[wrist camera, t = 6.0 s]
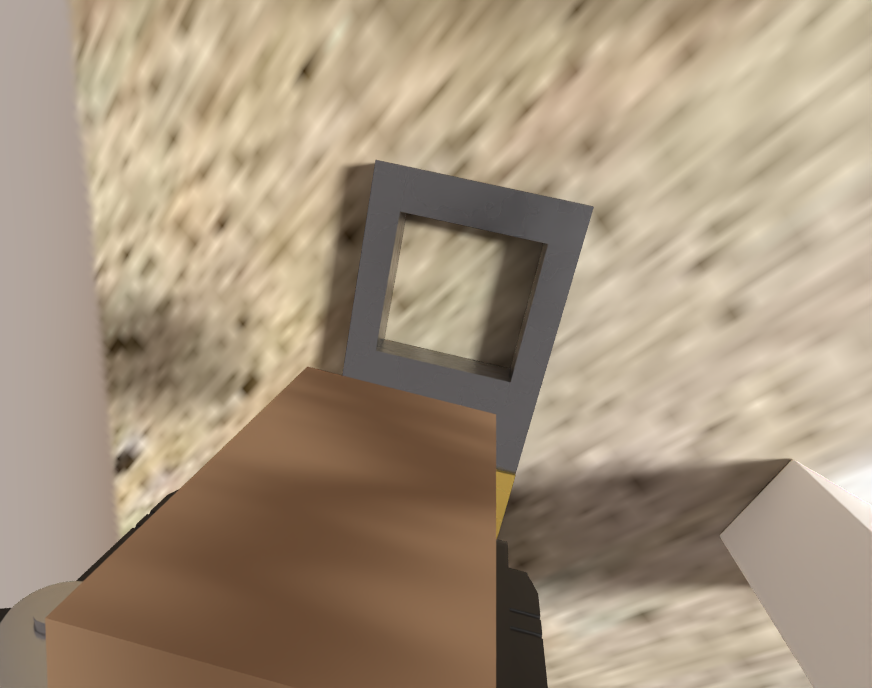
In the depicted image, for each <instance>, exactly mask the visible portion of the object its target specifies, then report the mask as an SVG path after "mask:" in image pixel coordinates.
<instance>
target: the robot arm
mask: <svg viewBox="0 0 872 688" xmlns="http://www.w3.org/2000/svg"><path fill="white" fill-rule="evenodd" d="M177 491H178V490H177ZM177 491H175V492H172V493H170V494H168V495H167V496H166V497H165V498H164V499H163V500H162V501H161V502H160V503H158V504H157V505H156V506H155V507H154V508H153V509H152V510H151V512H150V514H147V515H146V516H145V517H144V518H142V519H141V520H140V521H139V522H138V523H137V524H136V527H135V528H132V529H131V530H130V531H129V532H128V533H127V534H125V535H124V536H123V537H122V538H121V539H120V540H119V541H118V542H117V543H116V544H115V545H114V546H113V547H112V548H111V549H110V550H109V551H107V552H106V553H105V554H104V555H103V556H102V557H101V558H100V559H99V560H98V561H97V562H96V563H95V564H94V565H92V566H91V567H90V568H89V569H88V571H86V572H85V573H84V574H83V575H82V576H81V577H80V578H79V579H78V580H77V581H70V582H62V583H57V584H53V585H50V586H47V587H45V588H42V589H39V590H37V591H35V592H33V593H31V594H29V595H28V596H26V597H25V598H23V599H22V600H20V601H19V602H18V603H17V604H15V605H14V606H13V607H12V608H4V609H0V688H48V682H47V655H46V628H45V618H46V617H47V616H48V615H49V614H50V613H51V612H52V611H53V610H54V609H55V608H56V607H57V606H58V605H59V604H60V603H61V602H62V601H63V600H64V599H65V598H66V597H67V596H69V595H70V594H71V593H72V592H73V591H74V590H75V589H76V588H77V587H78V586H79V585H80V584H81V583H82V582H83V581H84V580H85V579H86V578H87V577H88V576H89V575H90V574H92V573H93V572H94V571H95V570H96V569H97V568H98V567H99V566H100V565H101V564H102V563H103V562H104V561H105V560H106V559H107V558H108V557H109V556H110V555H111V554H112V553H113V552H114V551H116V550H117V549H118V548H119V547H120V546H121V545H122V544H123V543H124V542H125V541H126V540H127V539H128V538H129V537H130V536H131V535H132V534H133V533H134V532H135V531H136V530H137V529H138V528H140V527H141V526H142V525H143V524H144V523H145V522H146V521H147V520H148V519H149V518H150V517H151V516H152V515H153V514H154V513H155V512H156V511H157V510H158V509H159V508H160V507H161V506H163V505H164V504H165V503H166V502H167V501H168V500H169V499H170V498H171V497H172V496H173V495H174V494H175V493H176V492H177ZM496 688H548V686H547V676H546V666H545V657H544V647H543V639H542V627H541V620H540V608H539V598H538V593H537V591H536V589H535V587H534V585H533V584H532V582H531V580H530V578H529V576H528V574H527V573H526V572H522V571H518V570H515V569H511V568H508V545H507V542H505V541H502V540H498V539H496Z"/></svg>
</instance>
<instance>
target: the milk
mask: <svg viewBox="0 0 872 688" xmlns="http://www.w3.org/2000/svg"><path fill="white" fill-rule="evenodd" d="M720 538H721V540H722V541H723V543H724V545H725V546H726V548H727V549H728V551H729V553H730V554H731V556H732V557H733V559H734V561H735V562H736V564H737V565H738V567H739V569H740V570H741V572H742V573H743V575H744V577H745V578H746V580H747V581H748V583H749V585H750V586H751V588H752V589H753V591H754V593H755V594H756V596H757V597H758V599H759V601H760V602H761V604H762V605H763V607H764V609H765V610H766V612H767V614H768V615H769V617H770V618H771V620H772V622H773V623H774V625H775V626H776V628H777V630H778V631H779V633H780V634H781V636H782V638H783V639H784V641H785V642H786V644H787V646H788V647H789V649H790V650H791V652H792V654H793V655H794V657H795V658H796V660H797V662H798V663H799V665H800V666H801V668H802V670H803V671H804V673H805V674H806V676H807V678H808V679H809V681H810V682H811V684H812V686H813V687H814V688H872V505H871V504H869V503H868V502H866V501H864V500H862V499H861V498H859V497H857V496H856V495H854V494H852V493H851V492H849V491H847V490H845V489H844V488H842V487H840V486H839V485H837V484H835V483H834V482H832V481H830V480H828V479H827V478H825V477H823V476H822V475H820V474H818V473H816V472H815V471H813V470H811V469H810V468H808V467H806V466H805V465H803V464H801V463H799V462H798V461H796V460H791V461H790V462H789V463H788V464H787V465H786V466H785V468H784V469H783V470H782V471H781V472H780V473H779V474H778V475H777V476H776V477H775V478H774V479H773V480H772V481H771V482H770V483H769V484H768V485H767V486H766V487H765V488H764V489H763V490H762V492H761V493H760V494H759V495H758V496H757V497H756V498H755V499H754V500H753V501H752V502H751V503H750V504H749V505H748V506H747V507H746V508H745V509H744V510H743V511H742V512H741V513H740V514H739V516H738V517H737V518H736V519H735V520H734V521H733V522H732V523H731V524H730V525H729V526H728V527H727V528H726V529H725V530H724V531H723V532H722V533H721V534H720Z"/></svg>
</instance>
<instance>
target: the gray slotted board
mask: <svg viewBox="0 0 872 688" xmlns="http://www.w3.org/2000/svg"><path fill="white" fill-rule="evenodd" d="M593 208H594V207H593V206H589V205H584V204H580V203H575V202H570V201H566V200H561V199H556V198H552V197H547V196H542V195H538V194H533V193H528V192H524V191H519V190H514V189H510V188H505V187H500V186H496V185H491V184H486V183H482V182H477V181H472V180H468V179H463V178H458V177H454V176H449V175H444V174H440V173H435V172H430V171H426V170H421V169H416V168H412V167H407V166H402V165H398V164H393V163H388V162H384V161H379V160H376V161H375V167H374V174H373V180H372V187H371V193H370V200H369V206H368V213H367V219H366V226H365V232H364V239H363V245H362V252H361V258H360V265H359V271H358V278H357V284H356V291H355V297H354V304H353V310H352V317H351V323H350V330H349V336H348V343H347V349H346V356H345V362H344V369H343V375H342V376H346V377H350V378H354V379H358V380H362V381H366V382H370V383H374V384H378V385H382V386H386V387H390V388H394V389H398V390H402V391H406V392H410V393H414V394H418V395H421V396H425V397H429V398H433V399H437V400H441V401H445V402H449V403H453V404H457V405H461V406H465V407H469V408H473V409H477V410H481V411H485V412H489V413H493V414H496V539H497V537H498V533H499V530H500V527H501V523H502V520H503V516H504V513H505V510H506V506H507V503H508V499H509V496H510V493H511V489H512V486H513V482H514V479H515V473H516V470H517V466H518V463H519V460H520V456H521V453H522V449H523V446H524V443H525V439H526V436H527V432H528V429H529V426H530V422H531V419H532V415H533V412H534V409H535V405H536V402H537V398H538V395H539V391H540V388H541V385H542V381H543V378H544V374H545V371H546V368H547V364H548V361H549V357H550V354H551V351H552V347H553V344H554V340H555V337H556V334H557V330H558V327H559V323H560V320H561V317H562V313H563V310H564V306H565V303H566V300H567V296H568V293H569V289H570V286H571V282H572V279H573V276H574V272H575V269H576V265H577V262H578V259H579V255H580V252H581V248H582V245H583V242H584V238H585V235H586V231H587V228H588V225H589V221H590V218H591V214H592V211H593ZM407 213H409V214H414V215H418V216H423V217H428V218H432V219H437V220H441V221H446V222H450V223H455V224H459V225H464V226H469V227H473V228H478V229H482V230H487V231H491V232H496V233H500V234H505V235H510V236H514V237H519V238H523V239H528V240H532V241H537V242H542V243H544V244H543V248H542V251H541V255H540V259H539V263H538V266H537V270H536V274H535V277H534V281H533V285H532V289H531V292H530V296H529V300H528V304H527V307H526V311H525V315H524V318H523V322H522V326H521V330H520V333H519V337H518V341H517V344H516V348H515V352H514V356H513V359H512V363H511V367H510V369H509V368H505V367H501V366H497V365H492V364H488V363H484V362H480V361H475V360H471V359H467V358H462V357H458V356H454V355H450V354H445V353H441V352H437V351H432V350H428V349H424V348H420V347H415V346H411V345H407V344H402V343H398V342H394V341H390V340H385V339H384V338H385V333H386V327H387V321H388V316H389V310H390V305H391V299H392V293H393V288H394V282H395V277H396V271H397V265H398V260H399V254H400V249H401V243H402V237H403V232H404V226H405V221H406V215H407Z"/></svg>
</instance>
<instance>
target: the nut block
mask: <svg viewBox="0 0 872 688" xmlns="http://www.w3.org/2000/svg"><path fill="white" fill-rule="evenodd" d="M45 628H46V655H47V682H48V688H496V414H493V413H489V412H485V411H481V410H477V409H473V408H469V407H465V406H461V405H457V404H453V403H449V402H445V401H441V400H437V399H433V398H429V397H425V396H421V395H418V394H414V393H410V392H406V391H402V390H398V389H394V388H390V387H386V386H382V385H378V384H374V383H370V382H366V381H362V380H358V379H354V378H350V377H346V376H342V375H338V374H334V373H330V372H326V371H323V370H319V369H315V368H311V367H307V368H306V369H305V370H303V371H302V372H301V373H300V374H299V375H298V376H297V377H296V378H295V379H294V380H293V381H292V382H291V383H290V384H289V385H288V386H287V387H286V388H285V389H284V390H283V391H282V392H281V393H279V394H278V395H277V396H276V397H275V398H274V399H273V400H272V401H271V402H270V403H269V404H268V405H267V406H266V407H265V408H264V409H263V410H262V411H261V412H260V413H259V414H258V415H256V416H255V417H254V418H253V419H252V420H251V421H250V422H249V423H248V424H247V425H246V426H245V427H244V428H243V429H242V430H241V431H240V432H239V433H238V434H237V435H236V436H235V437H234V438H232V439H231V440H230V441H229V442H228V443H227V444H226V445H225V446H224V447H223V448H222V449H221V450H220V451H219V452H218V453H217V454H216V455H215V456H214V457H213V458H212V459H211V460H210V461H208V462H207V463H206V464H205V465H204V466H203V467H202V468H201V469H200V470H199V471H198V472H197V473H196V474H195V475H194V476H193V477H192V478H191V479H190V480H189V481H188V482H187V483H185V484H184V485H183V486H182V487H181V488H180V489H179V490H178V491H177V492H176V493H175V494H174V495H173V496H172V497H171V498H170V499H169V500H168V501H167V502H166V503H165V504H164V505H163V506H161V507H160V508H159V509H158V510H157V511H156V512H155V513H154V514H153V515H152V516H151V517H150V518H149V519H148V520H147V521H146V522H145V523H144V524H143V525H142V526H141V527H140V528H138V529H137V530H136V531H135V532H134V533H133V534H132V535H131V536H130V537H129V538H128V539H127V540H126V541H125V542H124V543H123V544H122V545H121V546H120V547H119V548H118V549H117V550H116V551H114V552H113V553H112V554H111V555H110V556H109V557H108V558H107V559H106V560H105V561H104V562H103V563H102V564H101V565H100V566H99V567H98V568H97V569H96V570H95V571H94V572H93V573H92V574H90V575H89V576H88V577H87V578H86V579H85V580H84V581H83V582H82V583H81V584H80V585H79V586H78V587H77V588H76V589H75V590H74V591H73V592H72V593H71V594H70V595H69V596H67V597H66V598H65V599H64V600H63V601H62V602H61V603H60V604H59V605H58V606H57V607H56V608H55V609H54V610H53V611H52V612H51V613H50V614H49V615H48V616H47V617H46V618H45Z"/></svg>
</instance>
